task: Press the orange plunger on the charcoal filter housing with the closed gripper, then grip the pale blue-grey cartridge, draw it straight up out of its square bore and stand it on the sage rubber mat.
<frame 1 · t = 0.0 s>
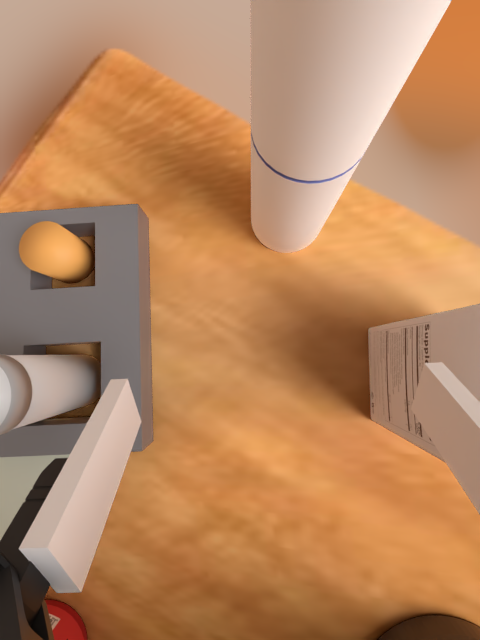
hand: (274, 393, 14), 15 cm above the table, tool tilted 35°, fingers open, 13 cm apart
cartridge: (80, 380, 30), resting in filter housing
filter housing: (80, 329, 30), on the table
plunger: (59, 254, 27), point 4 cm above the table, slide at 0.0 cm
mat: (7, 491, 29), on the table
supplement box: (414, 373, 29), on the table
cylindrical container: (286, 219, 31), on the table
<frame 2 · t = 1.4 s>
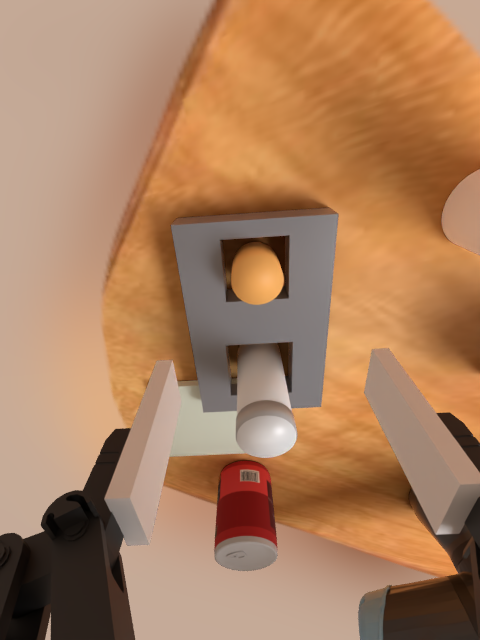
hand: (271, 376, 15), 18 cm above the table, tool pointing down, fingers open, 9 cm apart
cartridge: (258, 353, 36), resting in filter housing
filter housing: (257, 316, 34), on the table
canned food: (244, 473, 48), on the table
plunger: (256, 272, 27), point 3 cm above the table, slide at 0.0 cm
mat: (209, 416, 41), on the table
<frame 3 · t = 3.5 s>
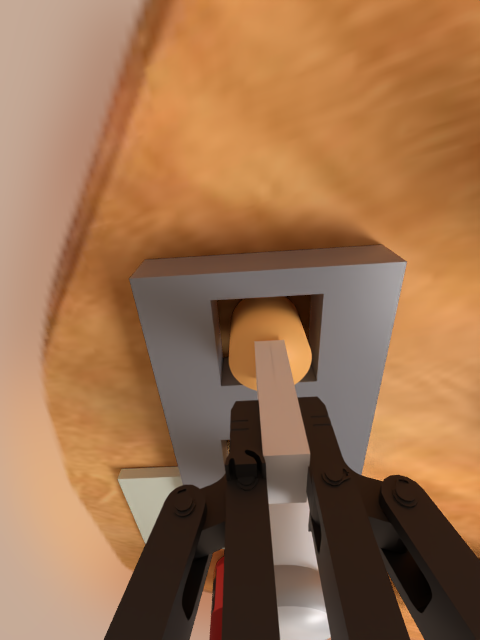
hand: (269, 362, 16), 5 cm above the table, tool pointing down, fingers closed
cartridge: (267, 436, 26), resting in filter housing
filter housing: (266, 392, 23), on the table
canned food: (246, 562, 38), on the table
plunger: (267, 340, 18), point 3 cm above the table, slide at 0.9 cm, touching gripper
mat: (200, 506, 31), on the table
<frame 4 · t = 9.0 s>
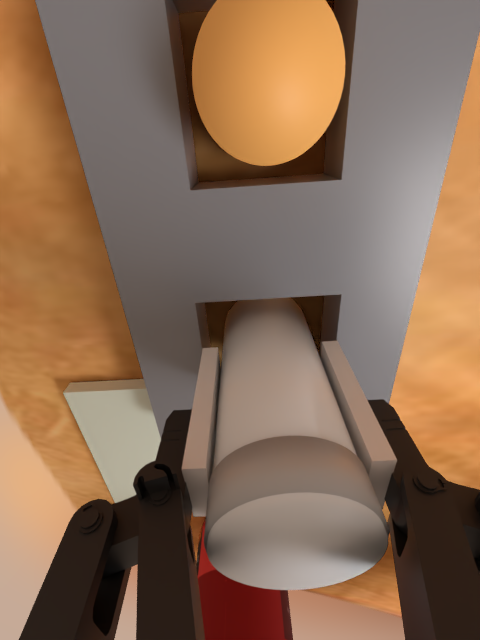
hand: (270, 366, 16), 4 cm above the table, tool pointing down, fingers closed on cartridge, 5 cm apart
cartridge: (264, 328, 19), resting in filter housing, touching gripper
filter housing: (262, 249, 16), on the table
canned food: (240, 524, 31), on the table
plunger: (263, 91, 11), point 3 cm above the table, slide at 0.4 cm
mat: (179, 441, 24), on the table
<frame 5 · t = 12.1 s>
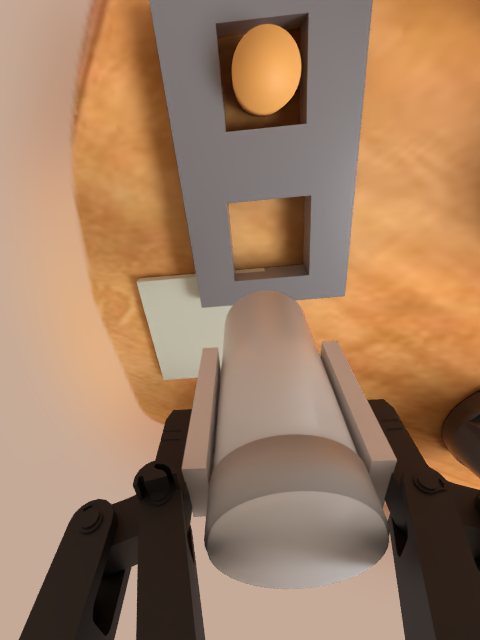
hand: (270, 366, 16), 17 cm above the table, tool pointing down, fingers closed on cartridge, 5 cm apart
cartridge: (265, 327, 19), point 14 cm above the table, touching gripper
filter housing: (265, 175, 27), on the table
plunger: (264, 76, 21), point 3 cm above the table, slide at 0.4 cm
mat: (209, 326, 35), on the table
when the fingers open (6 cm above the table, at t = 15.5 s): cartridge drops 1 cm, resting on mat.
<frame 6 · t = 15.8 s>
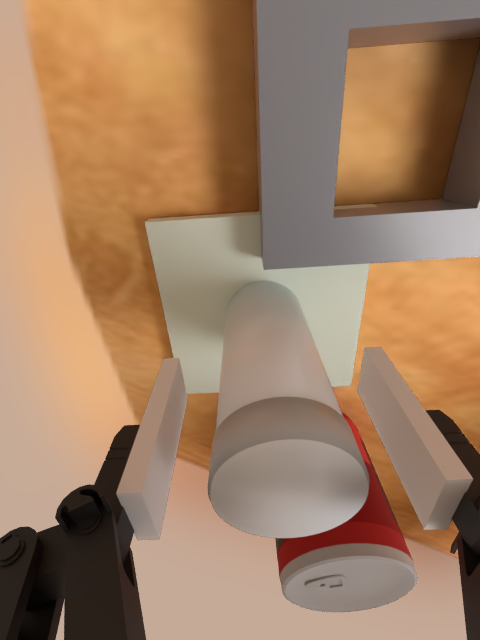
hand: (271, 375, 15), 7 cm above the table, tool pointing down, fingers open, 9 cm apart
cartridge: (263, 316, 20), point 1 cm above the table, touching mat
canned food: (310, 432, 28), on the table
mat: (262, 309, 21), on the table
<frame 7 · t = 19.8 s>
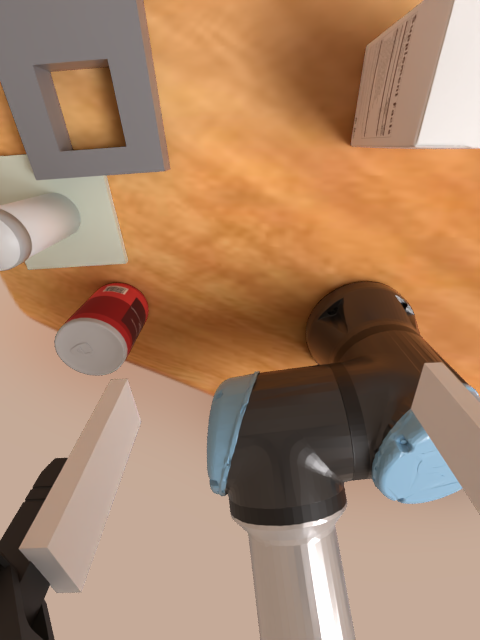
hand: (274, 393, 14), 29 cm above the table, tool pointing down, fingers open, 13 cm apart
cartridge: (59, 215, 37), point 1 cm above the table, touching mat
filter housing: (79, 49, 30), on the table
canned food: (122, 304, 44), on the table
mat: (63, 213, 38), on the table
supplement box: (397, 99, 32), on the table
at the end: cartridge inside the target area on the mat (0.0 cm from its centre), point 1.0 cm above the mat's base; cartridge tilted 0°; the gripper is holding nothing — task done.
